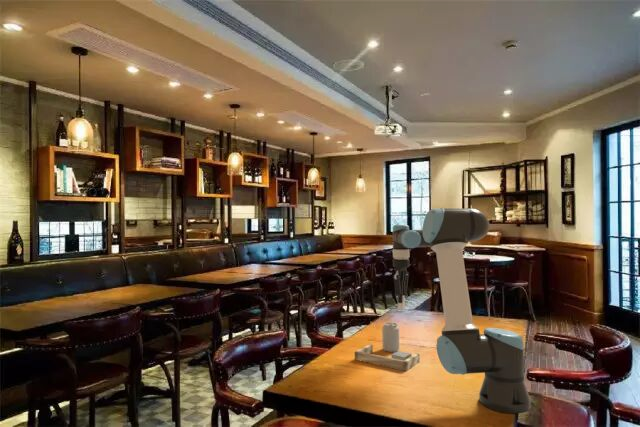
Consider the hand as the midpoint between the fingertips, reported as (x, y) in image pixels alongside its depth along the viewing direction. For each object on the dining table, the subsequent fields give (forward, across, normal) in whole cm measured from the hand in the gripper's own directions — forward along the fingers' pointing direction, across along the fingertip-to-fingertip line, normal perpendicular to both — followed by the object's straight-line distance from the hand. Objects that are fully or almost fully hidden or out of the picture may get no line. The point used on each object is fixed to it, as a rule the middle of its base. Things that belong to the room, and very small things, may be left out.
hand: (401, 309), depth 196 cm
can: (+18, +5, -3) cm, 19 cm away
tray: (+18, +20, +2) cm, 27 cm away
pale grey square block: (+18, +19, +9) cm, 27 cm away
